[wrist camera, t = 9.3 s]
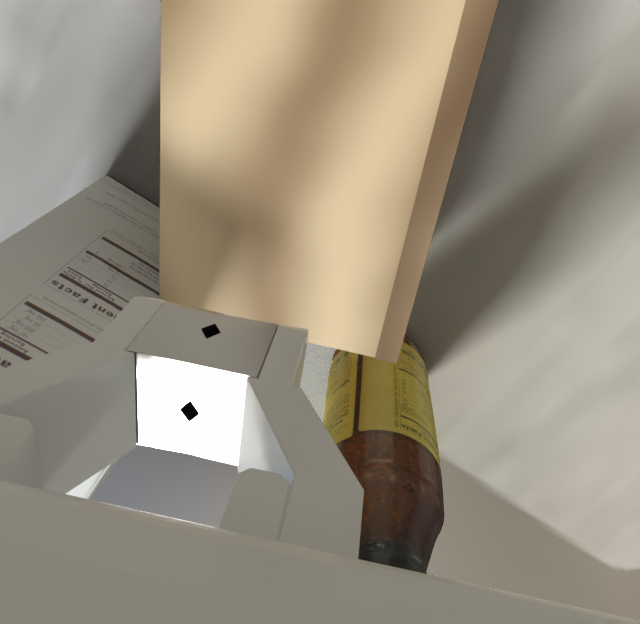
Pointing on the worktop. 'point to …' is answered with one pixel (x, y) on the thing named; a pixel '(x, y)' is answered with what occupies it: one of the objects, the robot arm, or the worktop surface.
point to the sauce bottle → (389, 453)
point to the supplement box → (77, 276)
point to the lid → (311, 156)
